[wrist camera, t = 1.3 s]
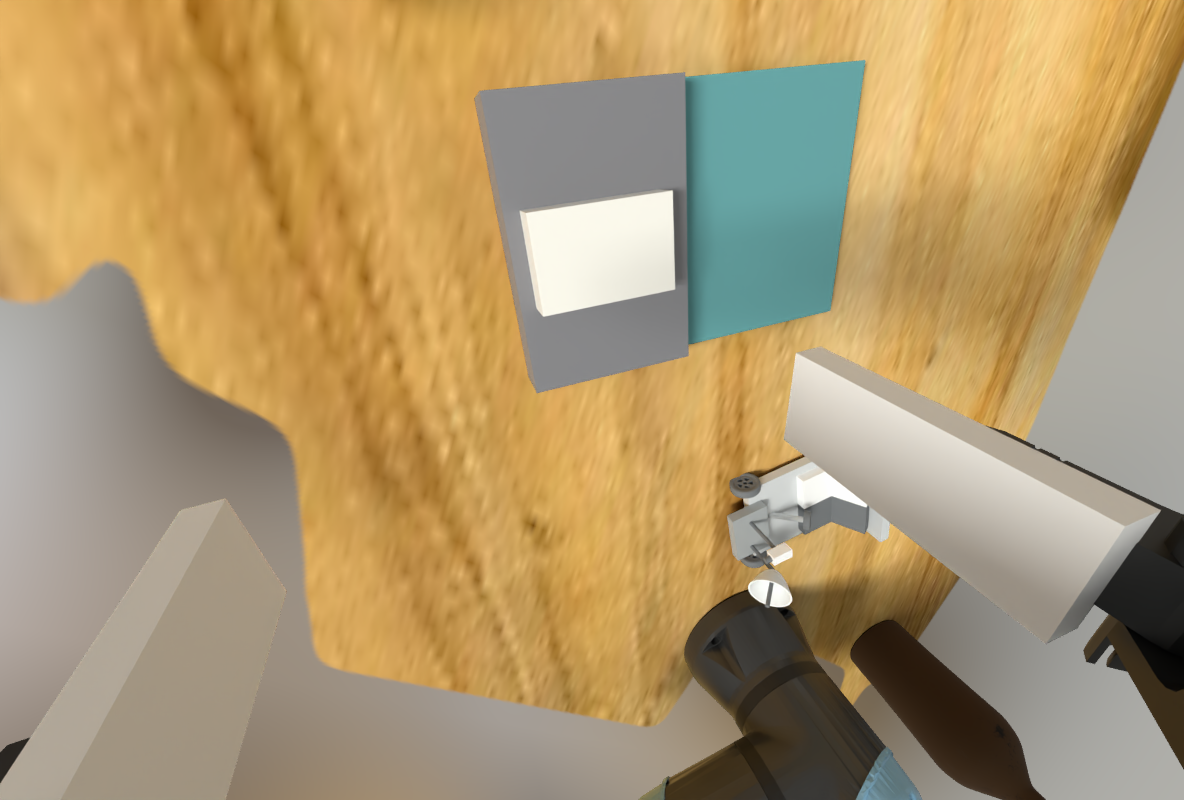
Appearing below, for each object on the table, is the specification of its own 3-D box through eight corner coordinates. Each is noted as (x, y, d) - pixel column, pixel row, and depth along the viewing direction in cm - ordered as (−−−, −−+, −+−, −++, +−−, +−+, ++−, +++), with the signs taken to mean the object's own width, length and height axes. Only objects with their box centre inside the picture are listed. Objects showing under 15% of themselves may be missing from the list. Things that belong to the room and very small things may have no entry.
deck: (670, 343, 38) (688, 355, 35) (528, 377, 35) (536, 393, 33) (662, 81, 29) (685, 72, 27) (474, 98, 27) (479, 90, 24)
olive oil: (842, 643, 70) (1023, 847, 49) (898, 606, 71) (1101, 791, 50) (850, 673, 76) (1016, 869, 55) (902, 638, 77) (1087, 818, 55)
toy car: (768, 636, 45) (760, 558, 39) (714, 563, 53) (701, 489, 47) (919, 558, 47) (932, 474, 41) (844, 500, 56) (847, 423, 50)
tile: (661, 283, 32) (675, 289, 30) (536, 308, 30) (543, 316, 28) (658, 189, 29) (672, 190, 27) (519, 210, 27) (525, 212, 25)
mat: (821, 307, 41) (830, 310, 40) (681, 340, 38) (687, 344, 37) (853, 63, 33) (865, 60, 32) (676, 79, 30) (684, 76, 29)
